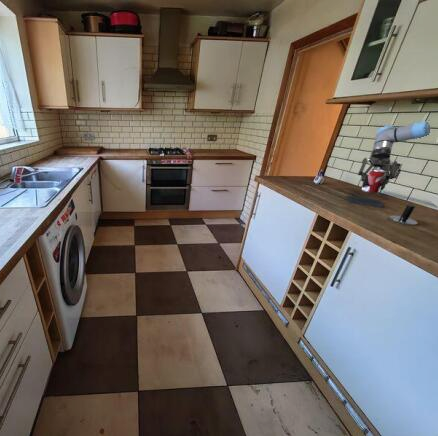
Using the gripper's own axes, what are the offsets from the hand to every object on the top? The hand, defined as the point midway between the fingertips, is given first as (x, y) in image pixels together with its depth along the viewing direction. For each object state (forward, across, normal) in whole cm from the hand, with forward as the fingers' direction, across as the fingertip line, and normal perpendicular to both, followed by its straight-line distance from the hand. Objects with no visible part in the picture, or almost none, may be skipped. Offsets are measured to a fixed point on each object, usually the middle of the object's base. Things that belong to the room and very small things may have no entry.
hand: (372, 187), depth 120 cm
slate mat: (+4, 0, -9) cm, 10 cm away
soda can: (0, 0, -5) cm, 5 cm away
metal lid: (+20, -11, +7) cm, 24 cm away
